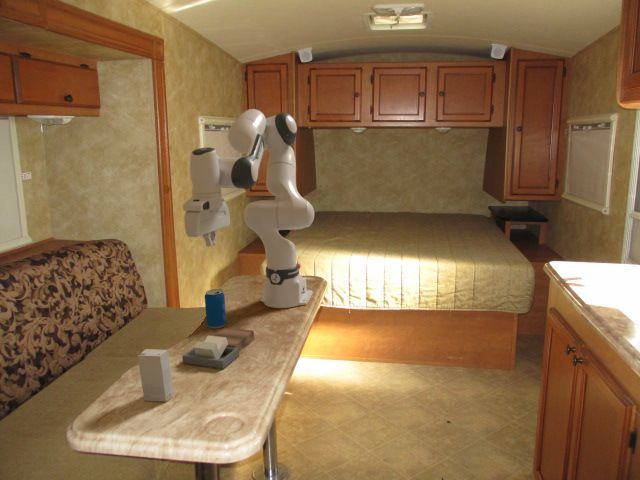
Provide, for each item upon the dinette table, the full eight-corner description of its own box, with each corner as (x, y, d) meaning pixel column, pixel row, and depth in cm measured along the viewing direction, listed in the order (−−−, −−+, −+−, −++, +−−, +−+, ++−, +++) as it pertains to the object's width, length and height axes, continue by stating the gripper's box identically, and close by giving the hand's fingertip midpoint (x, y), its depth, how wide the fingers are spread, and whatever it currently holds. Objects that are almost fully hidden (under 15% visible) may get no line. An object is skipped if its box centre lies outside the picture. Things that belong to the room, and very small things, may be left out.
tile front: (197, 341, 147) (193, 347, 145) (216, 343, 145) (212, 349, 143) (202, 354, 150) (198, 360, 148) (220, 356, 148) (216, 362, 146)
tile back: (210, 341, 154) (207, 335, 152) (228, 343, 152) (226, 337, 150) (202, 354, 150) (199, 347, 149) (220, 356, 148) (218, 349, 147)
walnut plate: (226, 336, 166) (225, 327, 165) (254, 339, 162) (253, 330, 162) (205, 351, 155) (204, 342, 154) (235, 355, 151) (234, 345, 151)
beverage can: (222, 329, 172) (219, 294, 169) (203, 328, 173) (200, 294, 170) (229, 322, 178) (226, 289, 175) (211, 321, 179) (208, 288, 177)
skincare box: (174, 394, 130) (169, 348, 127) (165, 403, 125) (161, 356, 123) (151, 392, 131) (146, 347, 128) (142, 401, 127) (137, 355, 124)
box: (200, 351, 155) (200, 343, 155) (239, 356, 151) (238, 348, 150) (183, 363, 147) (182, 355, 146) (223, 369, 142) (222, 361, 142)
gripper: (216, 197, 170) (219, 238, 173) (179, 206, 152) (183, 252, 154) (233, 197, 168) (236, 239, 171) (197, 206, 149) (201, 253, 152)
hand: (210, 245), depth 163 cm, fingers closed
